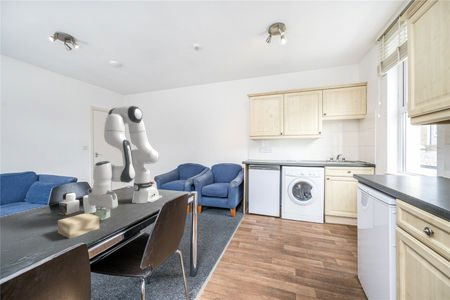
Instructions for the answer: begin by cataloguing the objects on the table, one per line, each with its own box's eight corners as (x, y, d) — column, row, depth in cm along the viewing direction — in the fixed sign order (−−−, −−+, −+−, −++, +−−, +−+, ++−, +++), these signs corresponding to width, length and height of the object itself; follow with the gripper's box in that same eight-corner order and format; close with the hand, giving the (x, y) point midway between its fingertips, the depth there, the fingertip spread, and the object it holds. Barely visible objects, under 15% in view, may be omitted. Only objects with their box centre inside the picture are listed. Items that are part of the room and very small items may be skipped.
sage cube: (104, 215, 107) (104, 207, 107) (110, 216, 105) (110, 208, 105) (95, 218, 103) (95, 209, 103) (101, 220, 101) (101, 211, 101)
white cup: (90, 214, 110) (90, 197, 109) (79, 213, 111) (79, 197, 111) (101, 210, 117) (101, 194, 117) (91, 209, 119) (91, 193, 119)
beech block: (87, 223, 96) (87, 212, 96) (99, 228, 91) (99, 216, 91) (57, 233, 86) (57, 220, 86) (69, 239, 80) (69, 225, 80)
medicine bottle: (58, 213, 111) (58, 194, 110) (71, 210, 117) (71, 191, 117) (66, 215, 108) (66, 195, 108) (79, 211, 115) (79, 192, 115)
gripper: (120, 190, 103) (120, 214, 103) (96, 187, 111) (97, 210, 111) (110, 192, 97) (110, 218, 97) (85, 189, 105) (85, 213, 105)
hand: (103, 214), depth 104 cm, fingers closed on sage cube, 5 cm apart
